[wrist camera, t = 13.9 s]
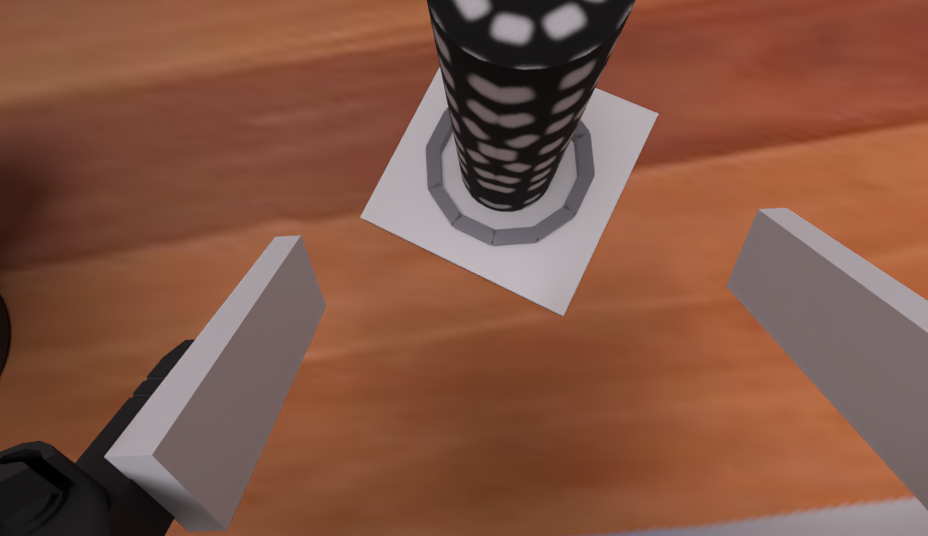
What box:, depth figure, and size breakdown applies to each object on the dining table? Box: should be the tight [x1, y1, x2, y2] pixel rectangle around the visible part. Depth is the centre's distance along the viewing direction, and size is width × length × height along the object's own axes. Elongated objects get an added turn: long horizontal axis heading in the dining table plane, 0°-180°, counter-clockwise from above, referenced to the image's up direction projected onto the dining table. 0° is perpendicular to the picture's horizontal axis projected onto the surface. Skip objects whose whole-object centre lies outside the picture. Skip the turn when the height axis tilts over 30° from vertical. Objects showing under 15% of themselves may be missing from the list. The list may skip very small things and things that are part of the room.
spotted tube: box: [427, 0, 635, 212], centre depth 25 cm, size 8×8×20 cm
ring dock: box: [361, 68, 658, 316], centre depth 35 cm, size 20×20×2 cm
